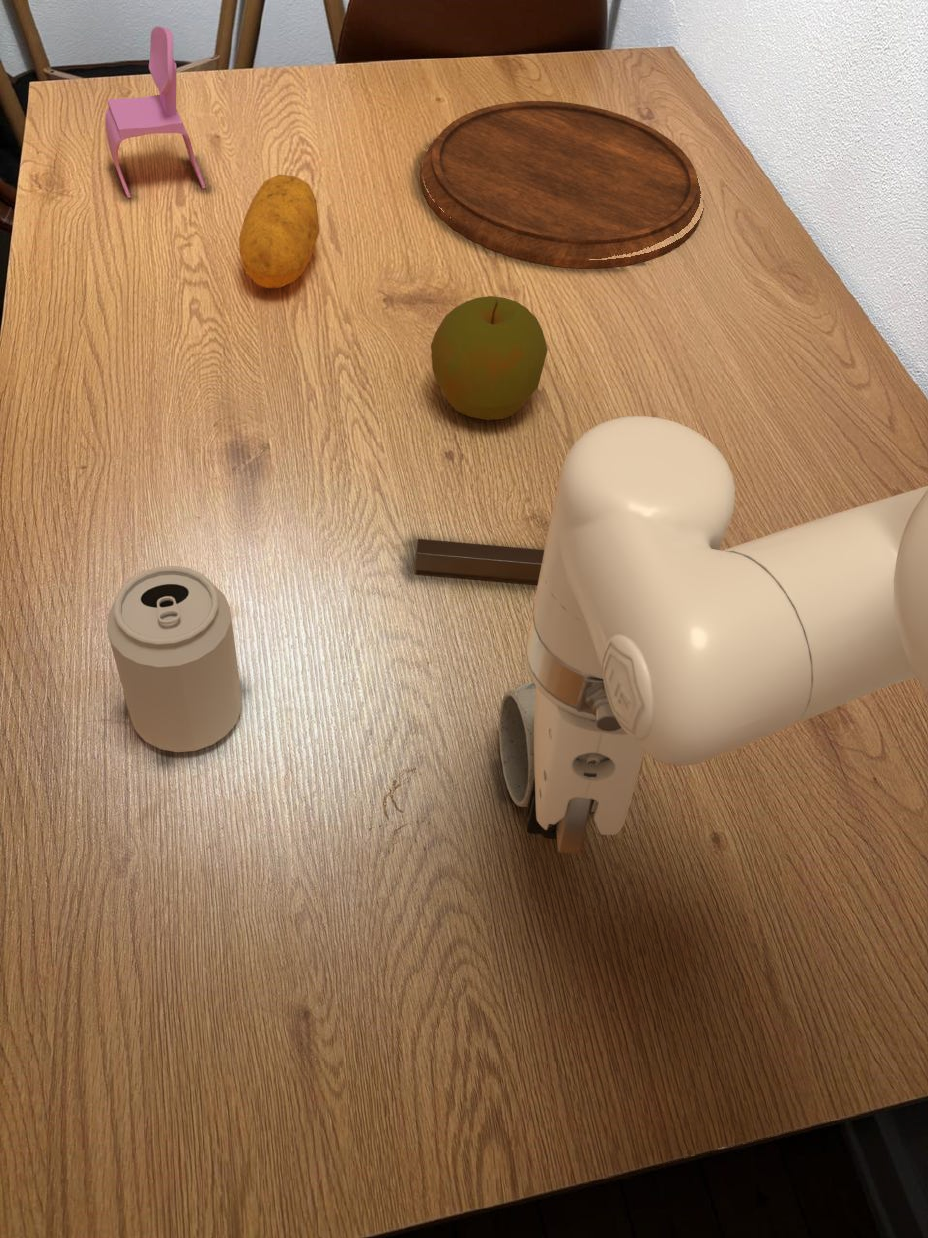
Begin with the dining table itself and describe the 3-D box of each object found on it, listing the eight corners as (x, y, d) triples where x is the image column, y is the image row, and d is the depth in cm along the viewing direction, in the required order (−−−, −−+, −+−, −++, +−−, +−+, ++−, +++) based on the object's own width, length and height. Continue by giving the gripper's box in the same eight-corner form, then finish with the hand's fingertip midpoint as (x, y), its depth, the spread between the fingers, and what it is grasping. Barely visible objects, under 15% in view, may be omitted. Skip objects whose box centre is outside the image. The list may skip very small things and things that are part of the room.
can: (232, 660, 80) (217, 546, 70) (252, 745, 75) (239, 635, 66) (125, 681, 78) (95, 567, 68) (139, 770, 73) (109, 660, 64)
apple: (521, 364, 104) (537, 261, 96) (551, 433, 98) (570, 329, 90) (417, 374, 102) (423, 269, 93) (441, 444, 96) (450, 339, 88)
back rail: (669, 596, 87) (676, 576, 85) (414, 574, 86) (416, 553, 84) (666, 566, 89) (673, 546, 87) (417, 544, 88) (419, 523, 86)
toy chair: (110, 163, 120) (84, 18, 109) (191, 154, 123) (174, 11, 111) (124, 203, 116) (99, 56, 104) (208, 193, 118) (193, 48, 107)
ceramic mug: (635, 811, 74) (659, 747, 68) (517, 829, 73) (531, 765, 67) (590, 686, 81) (609, 618, 75) (481, 700, 79) (492, 631, 73)
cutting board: (624, 305, 111) (629, 283, 109) (363, 196, 120) (363, 174, 118) (746, 177, 130) (752, 156, 128) (511, 91, 139) (514, 70, 137)
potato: (330, 230, 116) (329, 166, 110) (304, 311, 106) (301, 245, 101) (261, 221, 116) (257, 157, 110) (229, 302, 106) (223, 235, 101)
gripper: (692, 777, 51) (617, 942, 65) (664, 540, 60) (605, 729, 74) (528, 765, 50) (489, 934, 64) (527, 529, 60) (493, 720, 74)
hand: (551, 823), depth 69 cm, fingers closed
